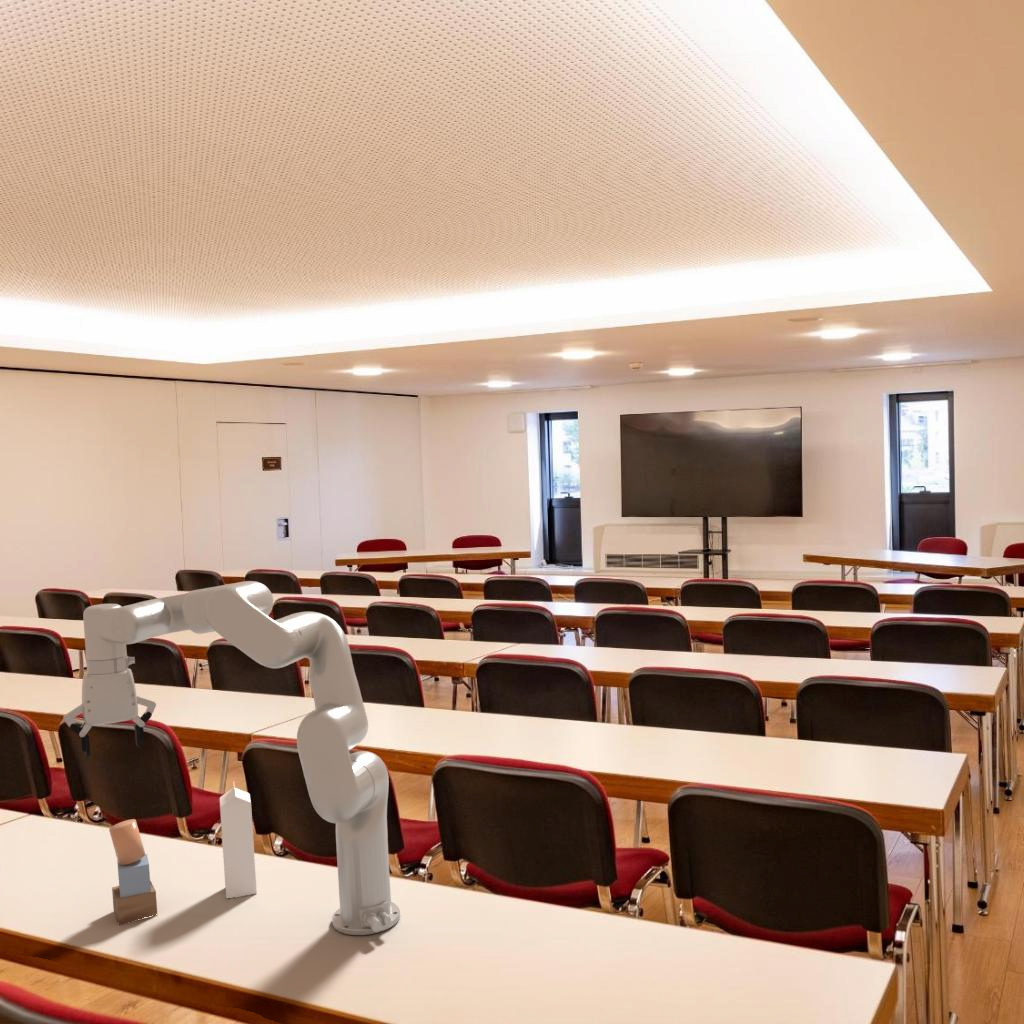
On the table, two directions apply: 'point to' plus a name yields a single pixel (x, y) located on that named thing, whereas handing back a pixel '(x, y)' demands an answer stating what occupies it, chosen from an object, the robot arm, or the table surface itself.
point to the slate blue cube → (134, 878)
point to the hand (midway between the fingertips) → (113, 750)
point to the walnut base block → (134, 905)
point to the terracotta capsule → (127, 842)
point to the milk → (238, 843)
